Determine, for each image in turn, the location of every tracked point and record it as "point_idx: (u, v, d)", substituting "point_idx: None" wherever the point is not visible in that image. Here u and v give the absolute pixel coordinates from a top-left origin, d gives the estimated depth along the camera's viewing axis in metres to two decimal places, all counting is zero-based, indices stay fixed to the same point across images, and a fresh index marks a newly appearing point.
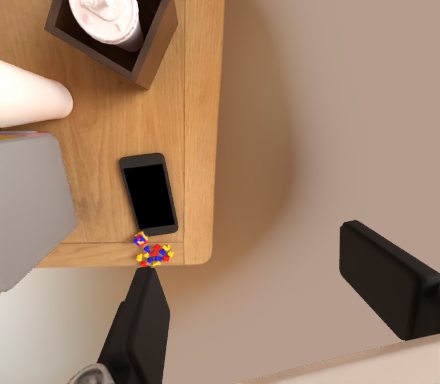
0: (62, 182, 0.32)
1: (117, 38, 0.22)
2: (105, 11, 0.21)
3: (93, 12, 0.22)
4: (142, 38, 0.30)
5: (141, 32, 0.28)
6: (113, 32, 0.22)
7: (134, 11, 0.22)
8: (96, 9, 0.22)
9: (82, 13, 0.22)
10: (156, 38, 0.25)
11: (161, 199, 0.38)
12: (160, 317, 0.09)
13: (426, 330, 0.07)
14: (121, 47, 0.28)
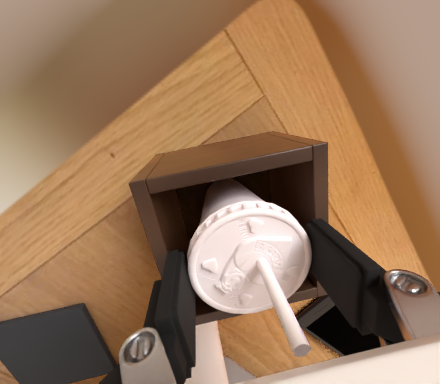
0: None
1: None
2: None
3: (245, 287, 0.11)
4: None
5: None
6: (287, 284, 0.11)
7: (304, 236, 0.11)
8: (247, 279, 0.11)
9: (230, 298, 0.11)
10: None
11: None
12: (190, 296, 0.10)
13: (369, 317, 0.08)
14: None
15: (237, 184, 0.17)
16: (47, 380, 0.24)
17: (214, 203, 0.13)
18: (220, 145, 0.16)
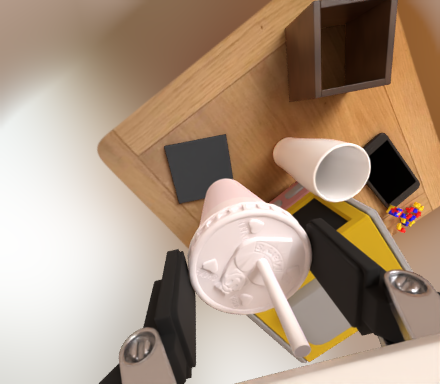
0: None
1: (298, 288, 0.12)
2: None
3: (246, 288, 0.11)
4: None
5: None
6: (287, 284, 0.12)
7: (305, 237, 0.11)
8: (247, 280, 0.11)
9: (231, 299, 0.11)
10: None
11: (397, 168, 0.40)
12: (190, 296, 0.10)
13: (369, 317, 0.08)
14: None
15: (237, 185, 0.17)
16: (193, 193, 0.37)
17: (214, 204, 0.13)
18: None
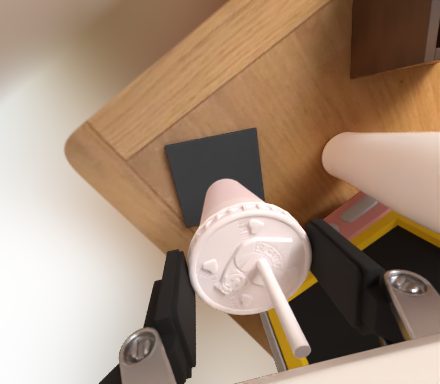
0: None
1: None
2: None
3: (245, 288, 0.11)
4: None
5: None
6: (287, 285, 0.11)
7: (304, 237, 0.11)
8: (247, 280, 0.11)
9: (231, 299, 0.11)
10: None
11: None
12: (190, 296, 0.10)
13: (369, 317, 0.08)
14: None
15: (237, 185, 0.17)
16: None
17: (214, 204, 0.13)
18: None
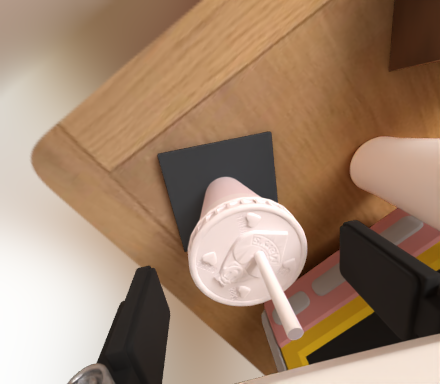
0: None
1: None
2: None
3: (243, 280, 0.12)
4: None
5: None
6: (284, 277, 0.12)
7: (300, 231, 0.11)
8: (245, 272, 0.12)
9: (229, 291, 0.12)
10: None
11: None
12: (160, 317, 0.09)
13: (426, 330, 0.07)
14: None
15: (236, 182, 0.17)
16: None
17: (213, 200, 0.14)
18: None
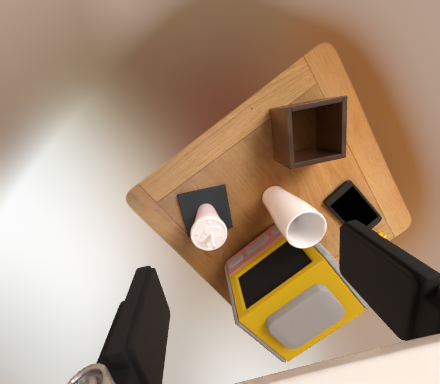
0: None
1: None
2: None
3: (207, 241, 0.38)
4: None
5: (215, 211, 0.44)
6: (220, 241, 0.38)
7: (224, 226, 0.37)
8: (208, 239, 0.38)
9: (203, 245, 0.38)
10: None
11: (362, 206, 0.50)
12: (160, 317, 0.09)
13: (426, 330, 0.07)
14: None
15: (209, 207, 0.43)
16: None
17: (199, 215, 0.40)
18: (300, 103, 0.40)
